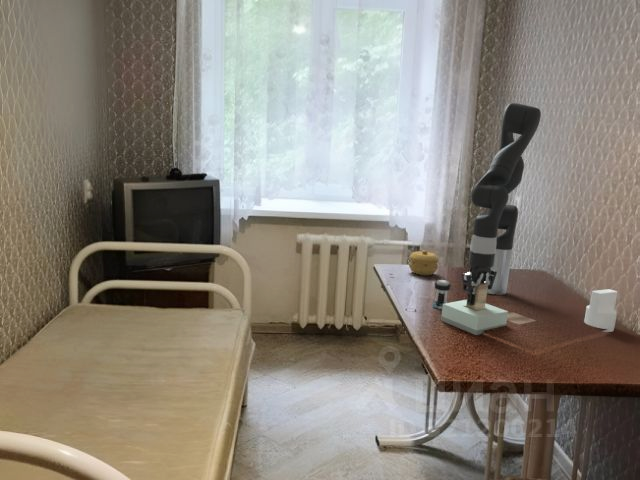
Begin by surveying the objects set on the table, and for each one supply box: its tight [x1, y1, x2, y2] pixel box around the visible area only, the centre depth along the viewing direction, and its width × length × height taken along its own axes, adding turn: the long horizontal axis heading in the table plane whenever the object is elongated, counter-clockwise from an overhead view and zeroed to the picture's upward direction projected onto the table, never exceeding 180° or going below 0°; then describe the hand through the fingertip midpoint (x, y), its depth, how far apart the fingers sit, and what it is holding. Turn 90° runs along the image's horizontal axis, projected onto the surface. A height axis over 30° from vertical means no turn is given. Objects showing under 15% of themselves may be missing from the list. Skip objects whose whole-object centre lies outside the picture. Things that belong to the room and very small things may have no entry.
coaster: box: [507, 311, 537, 326], centre depth 194 cm, size 9×9×1 cm
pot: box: [408, 249, 439, 276], centre depth 245 cm, size 12×12×10 cm
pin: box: [466, 281, 488, 311], centre depth 186 cm, size 4×4×12 cm
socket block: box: [440, 299, 509, 336], centre depth 187 cm, size 14×14×6 cm
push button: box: [432, 279, 452, 310], centre depth 198 cm, size 7×5×10 cm
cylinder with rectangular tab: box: [583, 288, 619, 333], centre depth 193 cm, size 9×9×12 cm
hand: (475, 303), depth 186 cm, fingers open, 4 cm apart
